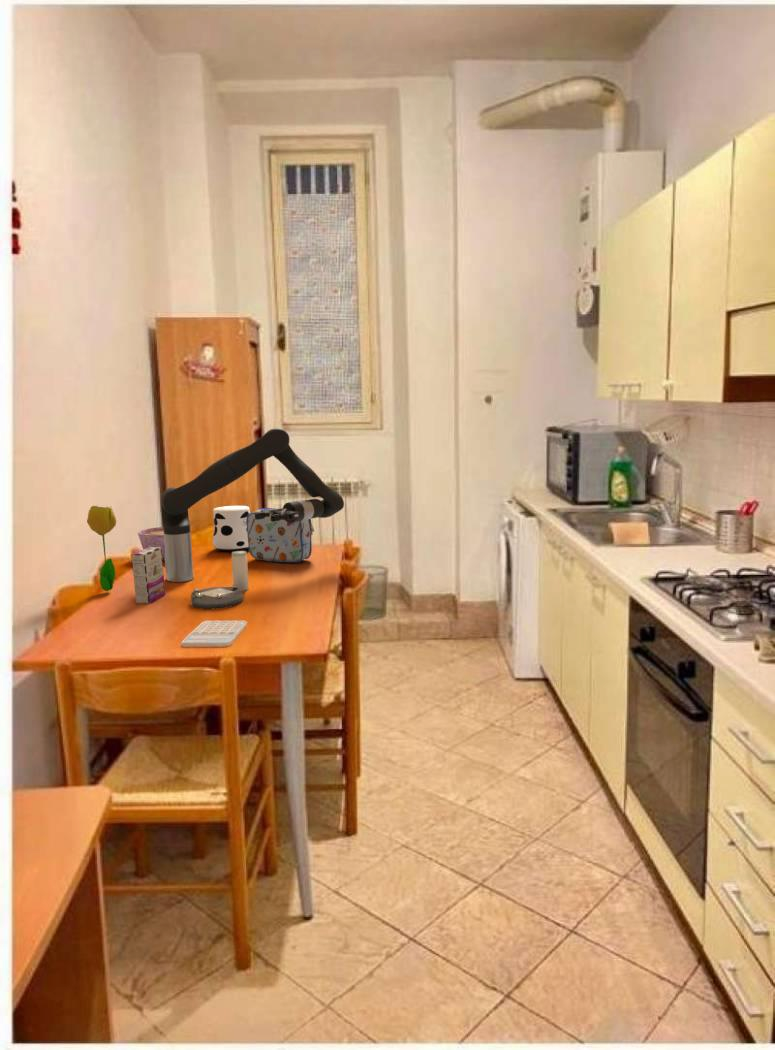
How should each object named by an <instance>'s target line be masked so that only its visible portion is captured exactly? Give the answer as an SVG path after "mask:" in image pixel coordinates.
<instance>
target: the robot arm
mask: <svg viewBox="0 0 775 1050" xmlns="http://www.w3.org/2000/svg"><path fill="white" fill-rule="evenodd" d="M290 440H291V439H290V436H289V433H288V432H287V431H285V429H283V428H279V427H273V428H270V429H269V430H268V431H266V432H265V433H264V434H263V435H262V436H261V437H260V438H258V439H256V440H255V441H254V442H252V443H251V444H248V445H247V446H245V447H242V448H240V449H238V450H235V451H233V452H231V453H229V454H227V455H225V456H223V457H221V458H220V459H218V460H217V461H215V462H213V463H212V464H211V465H209V466H208V467H207V468H205V470H202V472H201V473H200V474H198V475H197V477H195V478H194V479H193V480H191V481H188V482H186V483H185V484H183V485H180V486H178V487H175V486H173V487H169V488H167V489H165V490H164V491H163V492H162V494H161V497H160V508H161V509H160V510H161V520H162V527H163V530H164V541H165V554H164V556H165V560H164V565H165V566H164V568H165V569H164V570H165V579H166V580H167V581H168V582H170V581H171V583H181V582H182V583H183V582H189V581H191V580H193V579H194V565H193V549H192V548H193V547H192V535H191V523H190V519H189V509H190V508H191V507H193V506H194V505H196V504H197V503H198V502H200V501H201V500H203V499H204V498H205V497H207V496H209V495H211V494H213V493H216V492H217V491H219V490H221V489H223V488H225V487H226V486H228V485H231V484H232V483H233V482H235V481H236V480H237V481H238V480H239V479H240V478H241V477H243V476H244V475H245V474H247V473H248V472H250V471H251V470H253V468H255V467H256V466H258V465H259V464H260V463H262V462H264V461H265V460H267V459H269V458H271V457H274V458H275V459H276V460H277V461H279V463H280V464H282V466H284V467H285V468H286V469H287V471H288V472H289V473H290V474H292V476H293V477H294V479H295V480H296V481H297V482H298V483H299V484H300V486H301V487H302V488H303V489H304V490H305V491H306V493H307V494H308V495H309V496H310V497H311V498H310V499H304V500H303V499H300V500H295V501H289V502H288V501H287V502H285V503H284V505H282V507H279V508H276V509H269V510H262V511H261V513H255V519H256V520H259V519H265V518H270V519H271V522H275V521H280V520H281V521H286V522H288V523H295V522H300V521H305V520H308V519H311V520H312V519H316V518H319V519H325V518H329V517H332V516H333V515H335V514H336V513H339V512H340V511H342V510H343V508H344V507H345V501H344V499H343V497H342V496H341V494H340V493H339V492H337V491H336V490H335V489H333V488H332V487H331V486H329V485H328V484H326V483H325V482H324V481H323V480H322V478H320V477H319V475H318V474H317V473H316V471H314V470H313V469H312V468H311V467H310V466H309V465H308V464H306V462H304V461H303V460H302V459H301V458H300V457H299V455H297V454H296V452H295V451H294V450H293V449H292V447H291V446H290ZM318 498H321V499H318Z"/></svg>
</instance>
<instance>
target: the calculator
mask: <svg viewBox="0 0 775 1050" xmlns="http://www.w3.org/2000/svg"><path fill="white" fill-rule="evenodd" d="M245 627H246V628H247V627H248V621H246V620H204V621H202V622H201V623H200V624H199V625H197V626H196V627H195V628H194V629H193V630H192V631H191V632H190V633H189V634H187V636H186V637H185V638H184V639H183V640H181V643H180V644H181V645H180V646H181V647H184V648H187V647H188V648H190V647H192V648H196V647H197V648H198V647H199V648H201V647H202V648H203V647H206V648H207V647H209V648H210V647H216V648H217V647H218V648H219V647H222V648H223V646H224V647H225V646H226V647H230V646H231V645H232V644H233V643H234V642H235V641H236V640H235V639H238V637H239V636H240V635H241V634H240V633H243V631H244V630H245V629H246V628H245ZM244 628H245V629H244ZM239 634H240V635H239ZM234 640H235V641H234Z"/></svg>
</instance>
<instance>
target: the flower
mask: <svg viewBox="0 0 775 1050" xmlns="http://www.w3.org/2000/svg"><path fill="white" fill-rule="evenodd" d="M87 514H88V515H87V521H86V522H87V524H88V526H89V528H90V530H91V531H93V532H95V533H96V534H97V535H99V536H102V545H103V555H104V564H102V566H101V568H100V570H99V583H100V586H101V588H102V589H101V590H104V591H105V592H107V591H108V592H109V591H110V590H113V587H114V582H115V578H116V569H115V565H114V563H113V559H112V558H108V559H107V556H106V543H105V535H106V534H108V533H110V532H111V531H112V530H113V529H114V528H115V527H116V524H117V518H116V515H115V512H114V510H113V508H112V506H110V507H109V506H106V507H104V506H97V505H93V506H91V507H90V508H89V510H88V513H87Z"/></svg>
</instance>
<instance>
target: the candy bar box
mask: <svg viewBox="0 0 775 1050" xmlns="http://www.w3.org/2000/svg"><path fill="white" fill-rule="evenodd" d="M130 556H131V564H132V573H133V574H132V575H133V583H134V593H135V594H134V595H135V603H136V604H139V605H141V603H142V604H145V605H146V604H147V605H149V604H152V603H153V602H156V601H157V600H159V599H160V598H162V597H164V596H165V595H166V587H165V578H164V576H165V575H164V566H163V560H162V553H161V547H148V548H146V549H143V548H142V549H141V550H139V551H138V550H137V552H134V553H132V554H131V555H130Z"/></svg>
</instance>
